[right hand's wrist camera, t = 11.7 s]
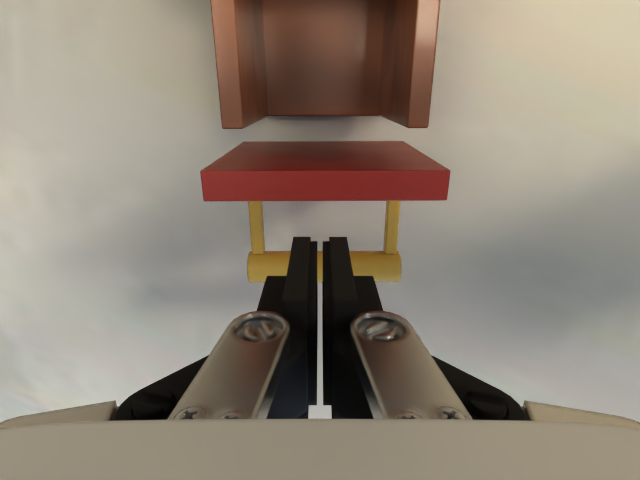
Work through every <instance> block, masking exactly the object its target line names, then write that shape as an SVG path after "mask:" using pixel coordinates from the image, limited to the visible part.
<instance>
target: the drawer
mask: <svg viewBox="0 0 640 480" xmlns="http://www.w3.org/2000/svg"><path fill="white" fill-rule="evenodd" d="M439 9H440V0H211V11H212V22H213V33H214V44H215V55H216V66H217V77H218V87H219V98H220V109H221V120H222V128H223V129H243V128H245V127H247V126H249V125H251V124H253V123H255V122H257V121H259V120H261V119H263V118H265V117H267V116H382V117H384V118H386V119H389V120H391V121H393V122H396V123H398V124H400V125H403V126H405V127H408V128H427V127H428V125H429V114H430V104H431V93H432V83H433V72H434V62H435V51H436V41H437V30H438V19H439ZM200 173H201V181H202V190H203V199H204V201H248V205H249V219H250V232H251V246H252V251H251V252H249V255H248V262H247V273H248V279H249V282H265V281H266V277H267V276H286V275H287V270H288V264H289V259H290V253H291V251H265V243H264V226H263V210H262V201H386V216H385V232H384V248H383V249H384V251H349V253H350V259H351V264H352V270H353V275H354V276H373V277H374V281H375V282H399V281H400V278H401V257H400V253H399V251H397V239H398V226H399V213H400V201H428V200H447V195H448V186H449V178H450V170H449V169H447V168H446V167H444V166H442V165H441V164H439V163H437V162H436V161H434V160H433V159H431V158H429V157H428V156H426V155H424V154H423V153H421V152H420V151H418V150H416V149H415V148H413V147H411V146H410V145H408V144H407V143H405V142H403V141H333V142H243V143H241V144H240V145H238V146H237V147H235V148H234V149H232V150H231V151H230V152H228V153H227V154H225V155H224V156H222V157H221V158H219V159H218V160H216V161H215V162H213V163H212V164H210V165H209V166H207V167H206V168H204V169H203V170H201V172H200ZM317 282H323V251H317Z"/></svg>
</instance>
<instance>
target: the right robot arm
mask: <svg viewBox="0 0 640 480" xmlns="http://www.w3.org/2000/svg"><path fill="white" fill-rule="evenodd" d="M309 405H317V241H311V237H293V242H292V248H291V253H290V259H289V264H288V270H287V275H286V276H267V277H266V281H265V284H264V288H263V291H262V295H261V298H260V302H259V305H258V308H257V311H255V312H249V313H246V314H243V315H241V316H239V317H237V318H236V319H234V320H233V321H232V322H231V323H230V324H229V326H228V327H227V329H226V330H225V332H224V333H223V335H222V336H221V338H220V339H219V341H218V342H217V344H216V345H215V347H214V349H213V350H212V352H211V353H210V355H208V356H206V357H204V358H202V359H200V360H198V361H196V362H194V363H192V364H190V365H188V366H186V367H184V368H182V369H181V370H179V371H177V372H175V373H173V374H171V375H169V376H167V377H165V378H163V379H161V380H159V381H157V382H155V383H153V384H151V385H149V386H147V387H145V388H143V389H141V390H139V391H137V392H136V393H134V394H133V395H131V396H129V397H128V398H127V399H126V400H125V401H124V402H123V403H122V404H121V405H120V406H119V407H117V404H116V400H115V401H109V402H103V403H97V404H91V405H85V406H79V407H73V408H67V409H61V410H55V411H49V412H43V413H37V414H31V415H25V416H19V417H16V418H12V419H8V420H5V421H3V422H1V423H0V480H640V423H639V422H637V421H635V420H632V419H628V418H624V417H621V416H615V415H609V414H603V413H597V412H591V411H585V410H579V409H573V408H567V407H561V406H555V405H549V404H543V403H537V402H531V401H525V400H524V404H523V407H521V406H520V405H519V404H518V403H517V402H516V401H515V400H514V399H513V398H512V397H511V396H509V395H507V394H506V393H504V392H503V391H501V390H499V389H497V388H495V387H493V386H491V385H489V384H487V383H485V382H483V381H481V380H479V379H477V378H475V377H473V376H471V375H469V374H467V373H465V372H463V371H461V370H459V369H458V368H456V367H454V366H452V365H450V364H448V363H446V362H444V361H442V360H440V359H438V358H436V357H434V356H432V355H430V353H429V352H428V350H427V349H426V347H425V345H424V344H423V342H422V341H421V339H420V338H419V336H418V335H417V333H416V332H415V330H414V329H413V327H412V326H411V324H410V323H409V322H408V321H407V320H406V319H404V318H403V317H401V316H399V315H397V314H394V313H391V312H385V311H383V308H382V305H381V302H380V298H379V295H378V291H377V288H376V284H375V281H374V277H373V276H354V275H353V270H352V264H351V259H350V253H349V248H348V242H347V237H329V241H323V405H331V406H332V419H308V406H309Z"/></svg>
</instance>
